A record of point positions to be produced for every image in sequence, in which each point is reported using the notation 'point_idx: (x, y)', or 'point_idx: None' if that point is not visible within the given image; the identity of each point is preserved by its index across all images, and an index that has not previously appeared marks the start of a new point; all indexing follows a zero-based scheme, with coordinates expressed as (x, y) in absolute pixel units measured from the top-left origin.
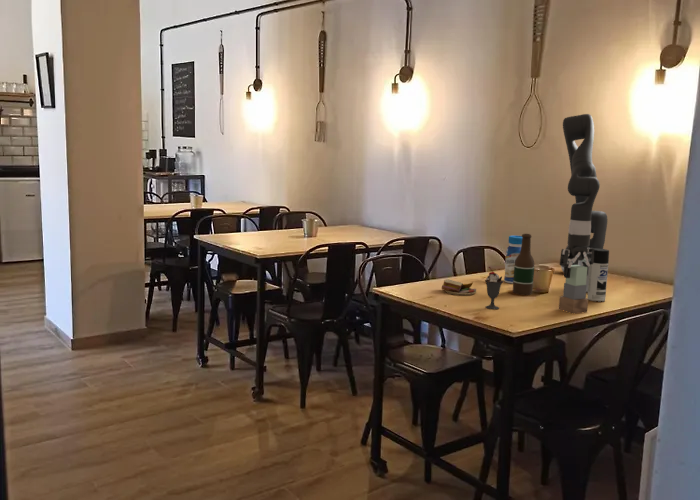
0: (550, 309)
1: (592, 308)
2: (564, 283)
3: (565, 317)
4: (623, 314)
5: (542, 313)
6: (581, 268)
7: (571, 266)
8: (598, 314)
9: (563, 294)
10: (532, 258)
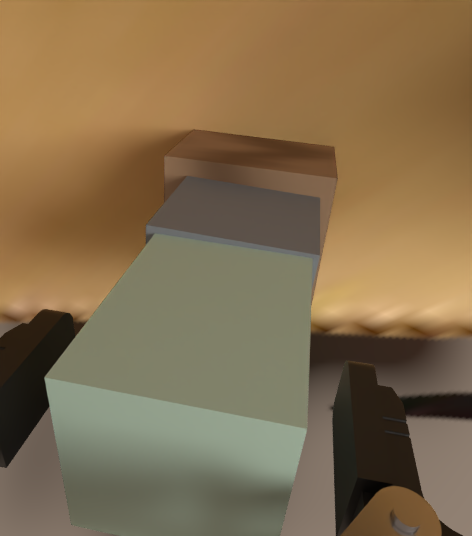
0: (131, 107)
1: (441, 233)
2: (147, 227)
3: (89, 278)
4: (453, 395)
5: (11, 157)
6: (158, 532)
7: (71, 448)
8: (320, 330)
9: (182, 184)
10: None
